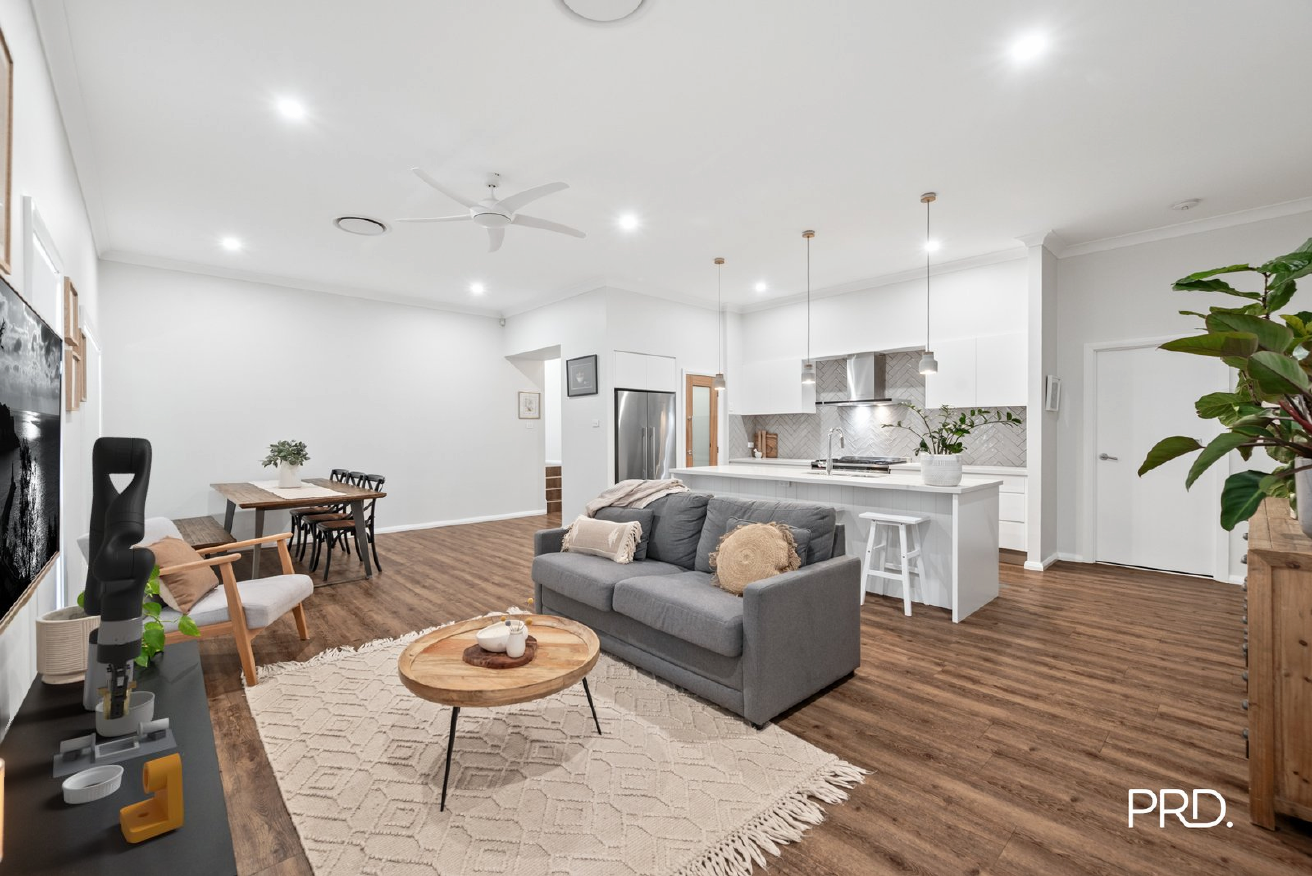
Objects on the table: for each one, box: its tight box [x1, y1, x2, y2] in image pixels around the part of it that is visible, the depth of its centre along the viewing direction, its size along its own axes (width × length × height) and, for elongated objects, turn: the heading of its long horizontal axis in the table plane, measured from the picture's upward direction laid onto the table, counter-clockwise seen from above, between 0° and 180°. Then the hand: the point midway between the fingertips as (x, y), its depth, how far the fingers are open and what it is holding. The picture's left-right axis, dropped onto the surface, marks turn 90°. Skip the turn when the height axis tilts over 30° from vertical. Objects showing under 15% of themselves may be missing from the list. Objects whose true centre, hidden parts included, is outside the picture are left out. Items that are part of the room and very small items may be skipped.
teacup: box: [94, 690, 156, 738], centre depth 145 cm, size 14×11×8 cm
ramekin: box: [61, 764, 124, 805], centre depth 118 cm, size 9×9×4 cm
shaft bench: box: [52, 717, 178, 779], centre depth 133 cm, size 20×12×6 cm, turn 135°
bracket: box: [119, 752, 185, 844], centre depth 110 cm, size 11×7×12 cm, turn 51°
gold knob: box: [98, 680, 137, 720], centre depth 133 cm, size 6×4×7 cm
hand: (115, 714), depth 133 cm, fingers closed on gold knob, 4 cm apart
